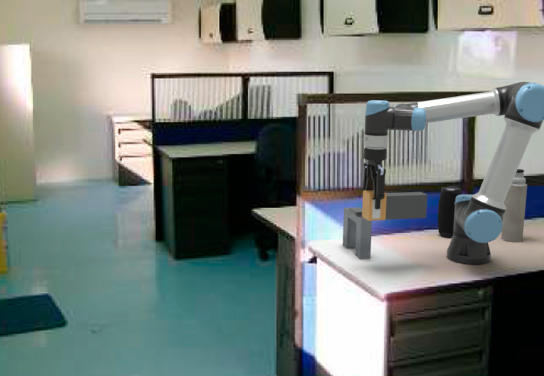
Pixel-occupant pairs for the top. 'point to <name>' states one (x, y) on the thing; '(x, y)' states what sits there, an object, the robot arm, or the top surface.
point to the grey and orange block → (396, 205)
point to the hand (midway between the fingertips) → (372, 215)
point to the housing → (357, 232)
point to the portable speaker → (447, 210)
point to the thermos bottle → (515, 209)
